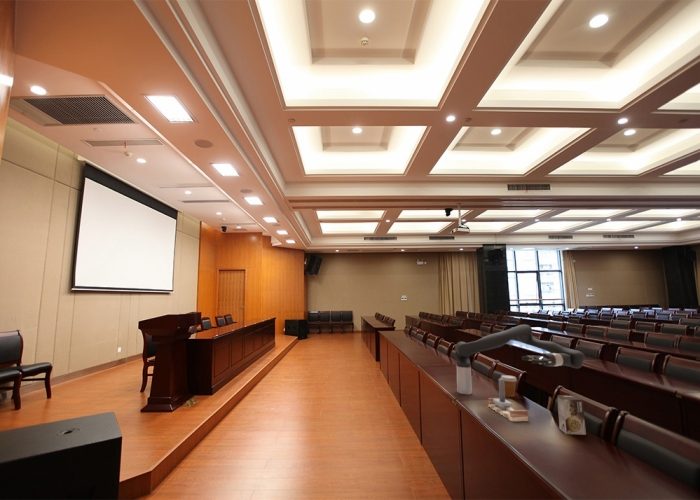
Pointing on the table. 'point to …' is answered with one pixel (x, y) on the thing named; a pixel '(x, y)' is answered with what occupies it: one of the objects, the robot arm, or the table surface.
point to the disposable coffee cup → (509, 385)
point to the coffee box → (571, 414)
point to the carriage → (502, 396)
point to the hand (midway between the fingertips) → (527, 359)
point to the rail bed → (506, 414)
